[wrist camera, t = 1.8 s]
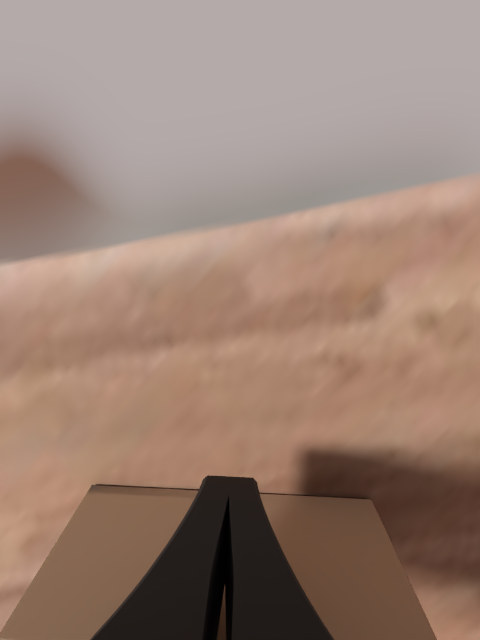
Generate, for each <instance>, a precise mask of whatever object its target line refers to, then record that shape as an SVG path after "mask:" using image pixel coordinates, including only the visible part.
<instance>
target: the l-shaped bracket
mask: <svg viewBox="0 0 480 640" xmlns="http://www.w3.org/2000/svg"><path fill="white" fill-rule="evenodd" d="M197 493H198V490H178V489H159V488H140V487H120V486H101V485H92V486H91V488H90V489H89V491H88V492H87V494H86V496H85V497H84V499H83V501H82V502H81V504H80V505H79V507H78V509H77V510H76V512H75V513H74V515H73V517H72V518H71V520H70V521H69V523H68V525H67V526H66V528H65V529H64V531H63V533H62V534H61V536H60V538H59V539H58V541H57V542H56V544H55V546H54V547H53V549H52V550H51V552H50V554H49V555H48V557H47V558H46V560H45V562H44V563H43V565H42V566H41V568H40V570H39V571H38V573H37V575H36V576H35V578H34V579H33V581H32V583H31V584H30V586H29V587H28V589H27V591H26V592H25V594H24V595H23V597H22V599H21V600H20V602H19V603H18V605H17V607H16V608H15V610H14V612H13V613H12V615H11V616H10V618H9V620H8V621H7V623H6V624H5V626H4V628H3V629H2V631H1V632H0V640H90V639H91V638H92V637H93V636H94V634H95V633H96V632H97V631H98V630H99V629H100V628H101V627H102V625H103V624H104V623H105V622H106V621H107V620H108V619H109V618H110V617H111V615H112V614H113V613H114V612H115V611H116V610H117V609H118V607H119V606H120V605H121V604H122V603H123V601H124V600H125V599H126V598H127V597H128V595H129V594H130V593H131V592H132V591H133V589H134V588H135V587H136V586H137V584H138V583H139V582H140V580H141V579H142V578H143V577H144V575H145V574H146V573H147V571H148V570H149V569H150V567H151V566H152V564H153V563H154V562H155V560H156V559H157V557H158V556H159V555H160V553H161V552H162V550H163V549H164V547H165V546H166V545H167V543H168V542H169V540H170V539H171V537H172V536H173V534H174V533H175V531H176V529H177V528H178V526H179V524H180V523H181V521H182V520H183V518H184V516H185V515H186V513H187V511H188V510H189V508H190V506H191V504H192V502H193V501H194V499H195V497H196V495H197ZM260 497H261V500H262V503H263V506H264V509H265V511H266V514H267V517H268V519H269V522H270V524H271V526H272V529H273V531H274V533H275V535H276V537H277V540H278V542H279V544H280V546H281V549H282V551H283V553H284V555H285V557H286V559H287V561H288V563H289V564H290V566H291V568H292V570H293V572H294V574H295V576H296V578H297V580H298V581H299V583H300V585H301V587H302V589H303V590H304V592H305V594H306V596H307V597H308V599H309V601H310V602H311V604H312V606H313V607H314V609H315V610H316V612H317V614H318V615H319V617H320V619H321V620H322V622H323V623H324V625H325V626H326V628H327V629H328V631H329V633H330V634H331V636H332V637H333V639H334V640H437V639H436V637H435V634H434V632H433V630H432V628H431V626H430V624H429V622H428V619H427V617H426V615H425V613H424V611H423V609H422V607H421V604H420V602H419V600H418V598H417V596H416V594H415V592H414V589H413V587H412V585H411V583H410V581H409V579H408V577H407V574H406V572H405V570H404V568H403V566H402V564H401V562H400V560H399V557H398V555H397V553H396V551H395V549H394V547H393V545H392V542H391V540H390V538H389V536H388V534H387V532H386V530H385V527H384V525H383V523H382V521H381V519H380V517H379V515H378V512H377V510H376V508H375V506H374V504H373V502H372V500H371V499H352V498H333V497H313V496H294V495H275V494H260ZM217 640H226V609H225V586H224V593H223V600H222V607H221V614H220V621H219V628H218V635H217Z"/></svg>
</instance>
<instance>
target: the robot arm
mask: <svg viewBox="0 0 480 640" xmlns="http://www.w3.org/2000/svg"><path fill="white" fill-rule="evenodd" d="M224 586H225V609H226V640H334V639H333V637H332V636H331V634H330V633H329V631H328V629H327V628H326V626H325V625H324V623H323V622H322V620H321V619H320V617H319V615H318V614H317V612H316V610H315V609H314V607H313V606H312V604H311V602H310V601H309V599H308V597H307V596H306V594H305V592H304V590H303V589H302V587H301V585H300V583H299V581H298V580H297V578H296V576H295V574H294V572H293V570H292V568H291V566H290V564H289V563H288V561H287V559H286V557H285V555H284V553H283V551H282V549H281V546H280V544H279V542H278V540H277V537H276V535H275V533H274V531H273V529H272V526H271V524H270V522H269V519H268V517H267V514H266V511H265V509H264V506H263V503H262V500H261V497H260V494H259V490H258V486H257V482H256V481H255V480H254V478H245V477H226V476H207V477H205V478H204V479H203V481H202V484H201V486H200V489H199V491H198V493H197V495H196V497H195V499H194V501H193V502H192V504H191V506H190V508H189V510H188V511H187V513H186V515H185V516H184V518H183V520H182V521H181V523H180V524H179V526H178V528H177V529H176V531H175V533H174V534H173V536H172V537H171V539H170V540H169V542H168V543H167V545H166V546H165V547H164V549H163V550H162V552H161V553H160V555H159V556H158V557H157V559H156V560H155V562H154V563H153V564H152V566H151V567H150V569H149V570H148V571H147V573H146V574H145V575H144V577H143V578H142V579H141V580H140V582H139V583H138V584H137V586H136V587H135V588H134V589H133V591H132V592H131V593H130V594H129V595H128V597H127V598H126V599H125V600H124V601H123V603H122V604H121V605H120V606H119V607H118V609H117V610H116V611H115V612H114V613H113V614H112V615H111V617H110V618H109V619H108V620H107V621H106V622H105V623H104V624H103V625H102V627H101V628H100V629H99V630H98V631H97V632H96V633H95V634H94V636H93V637H92V638H91V639H90V640H217V635H218V628H219V621H220V614H221V607H222V600H223V593H224Z"/></svg>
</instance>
